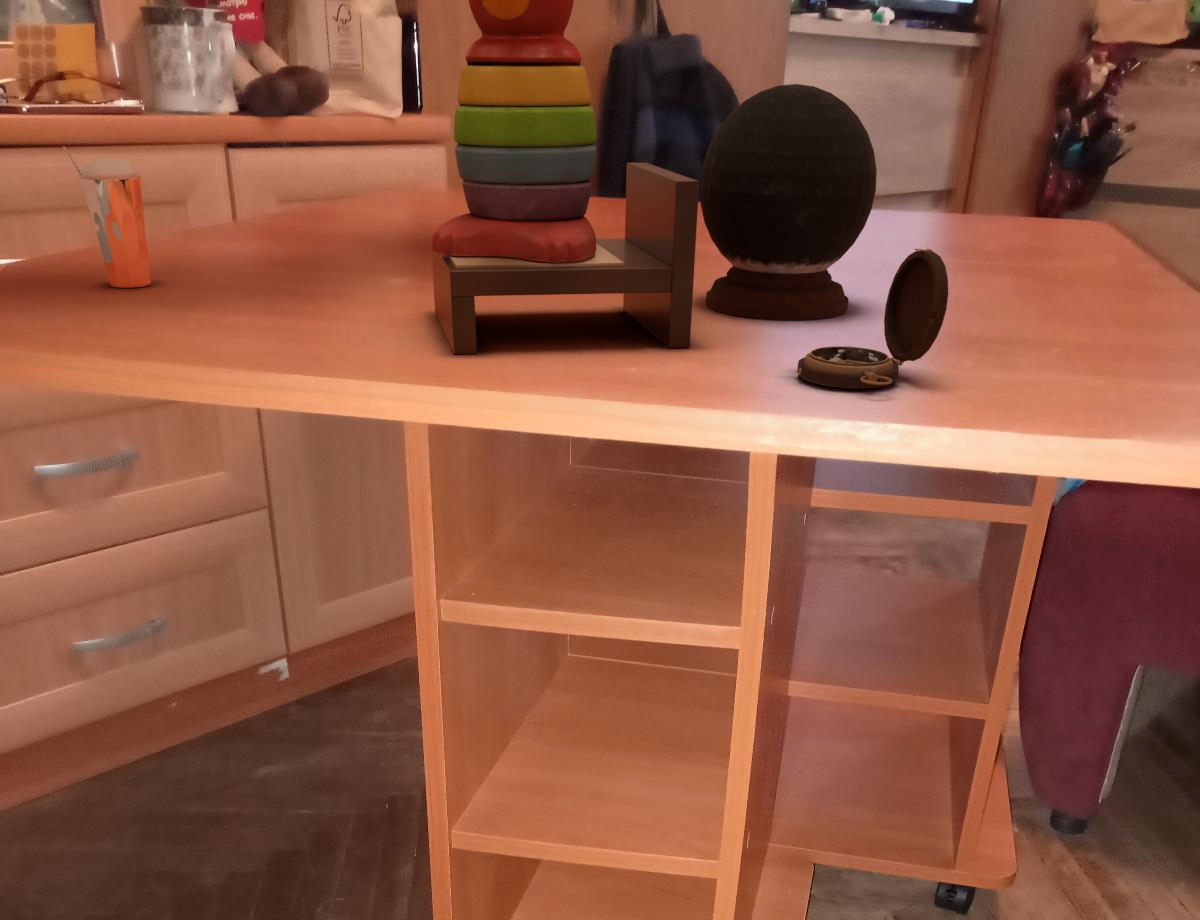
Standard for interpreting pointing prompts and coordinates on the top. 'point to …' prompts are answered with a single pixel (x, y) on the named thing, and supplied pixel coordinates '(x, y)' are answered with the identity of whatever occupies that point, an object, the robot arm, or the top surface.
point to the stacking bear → (523, 138)
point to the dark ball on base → (786, 202)
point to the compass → (889, 329)
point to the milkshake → (117, 218)
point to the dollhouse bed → (595, 266)
